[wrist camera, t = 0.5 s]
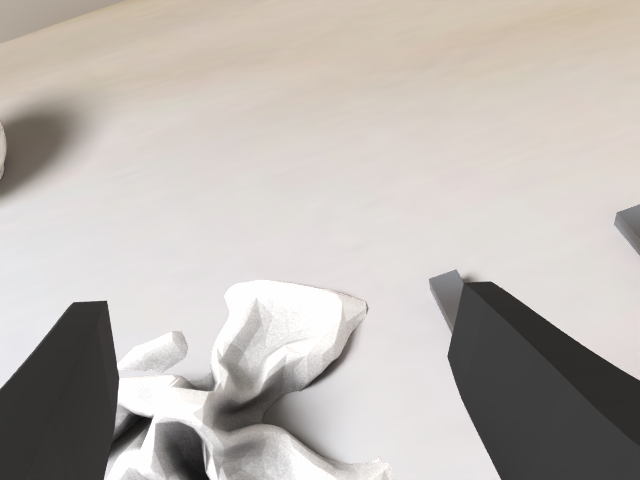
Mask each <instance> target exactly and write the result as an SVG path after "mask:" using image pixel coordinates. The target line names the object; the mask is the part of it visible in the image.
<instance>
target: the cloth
mask: <svg viewBox="0 0 640 480" xmlns="http://www.w3.org/2000/svg"><path fill="white" fill-rule="evenodd" d="M225 299H226V302H227V305H228V308H229V311H230V314H229V318H228V320H227V322H226V324H225V325H224V327H223V329H222V331H221V332H220V334H219V336H218V338H217V339H216V341H215V344H214V346H213V349H212V351H211V358H210V368H211V373H210V374H209V375H208V376H206V377H205V378H204V379H203V380H202V381H199V382H191V381H188V380H186V379H185V378H184V377H182V376H177V375H157V376H141V377H131V378H122V379H120V380H119V390H118V401H117V412H116V421H115V429H114V434H113V439H112V442H113V441H114V440H115V439H117V438H118V437H119V436H121V435H122V434H123V433H124V432H125V431H126V430H127V429H129V428H130V427H131V426H132V425H133V424H135V423H136V422H138V421H139V420H141V419H142V418H143V417H148V418H151V419H153V420H152V423H151V424H149V425H148V426H147V427H146V428H145V429H144V430H143V431H142V432H141V433H140V435H139V436H138V437H137V438H136V439H135V440H134V441H133V442H132V443H131V444H130V445H129V446H128V447H127V448H126V449H125V450H124V451H123V452H122V453H121V454H120V455H119V457H118V458H117V460H116V462H115V464H114V466H113V468H112V470H111V472H110V474H109V476H108V478H107V480H393V475H392V469H391V466H390V464H387V463H385V462H383V461H382V460H381V458H380V456H379V458H378V459H376V460H374V461H372V462H367V463H355V464H345V463H339V462H336V461H333V460H330V459H328V458H325V457H322V456H320V455H318V454H317V453H315V452H314V451H312V450H311V449H309V448H308V447H306V446H305V445H304V444H302V443H301V442H300V441H298V440H297V439H296V438H295V437H294V436H292V435H291V434H290V433H289V432H287V431H286V430H285V429H284V428H281V427H278V426H275V425H268V424H265V423H264V422H263V421H262V420H263V417H264V413H265V411H266V410H267V409H268V408H269V407H270V406H271V405H272V404H273V403H274V402H275V401H276V400H277V399H278V398H279V397H280V396H281V395H284V394H287V393H290V392H294V391H301V390H303V389H305V388H306V387H308V386H309V385H310V384H311V382H312V381H313V380H314V379H315V378H316V377H318V376H319V375H320V374H321V373H322V372H323V371H324V370H325V369H326V367H327V366H328V365H329V364H330V363H331V362H332V361H334V360H335V359H337V358H338V357H339V356H340V354H341V352H342V350H343V348H344V346H345V344H346V342H347V340H348V338H349V336H350V334H351V333H352V331H354V330H355V328H356V327H357V326H358V324H359V323H360V322H361V321H362V320H363V319H364V318H365V316H366V314H367V306H366V302H365V301H362V300H360V299H357V298H354V297H351V296H348V295H345V294H342V293H340V292H337V291H334V290H328V289H320V288H313V287H308V286H302V285H297V284H292V283H286V282H278V281H269V280H256V281H250V282H245V283H240V284H236V285H234V286H232V287H231V288H229V289H228V291H227V293H226V294H225ZM187 350H188V345H187V343H186V341H185V338H184V336H183V333H182V331H177V332H170V333H168V334H165V335H163V336H161V337H159V338H157V339H155V340H152V341H150V342H148V343H146V344H143V345H140V346H136V347H134V348H133V349H132V350H131V351H130V352H129V353H128V354H127V355H126V356H125V357H124V358H123V359H122V360H121V361H120V362H119V363H118V364H117V368H118V370H142V371H145V370H150V369H152V370H155V371H158V372H161V373H162V372H164V371H165V370H167V369H169V368H170V367H172V366H173V365H175V364H177V363H178V362H180V361H181V360H183V359H184V358H185V357H186V354H187Z"/></svg>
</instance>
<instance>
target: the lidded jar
mask: <svg viewBox="0 0 640 480" xmlns="http://www.w3.org/2000/svg"><path fill="white" fill-rule="evenodd" d="M6 148H7V147H6V137H5V133H4V129H3V126H2V124H1V122H0V180H1V178H2V176H3V174H4V169H5V166H4V161H5V157H6Z"/></svg>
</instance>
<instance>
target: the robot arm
mask: <svg viewBox="0 0 640 480" xmlns="http://www.w3.org/2000/svg"><path fill="white" fill-rule="evenodd" d="M447 357H448V360H449V363H450V366H451V369H452V372H453V376H454V379H455V382H456V385H457V387H458V390H459V393H460V396H461V399H462V401H463V403H464V405H465V407H466V409H467V411H468V413H469V416H470V418H471V420H472V422H473V424H474V426H475V428H476V430H477V432H478V434H479V436H480V438H481V440H482V442H483V444H484V446H485V448H486V450H487V452H488V454H489V456H490V458H491V460H492V462H493V464H494V466H495V468H496V470H497V472H498V474H499V476H500V478H501V480H640V381H639V380H638V379H636V378H634V377H633V376H631V375H629V374H627V373H626V372H624V371H622V370H621V369H619V368H617V367H616V366H614V365H613V364H611V363H610V362H608V361H606V360H605V359H603V358H602V357H600V356H598V355H597V354H595V353H594V352H592V351H591V350H589V349H588V348H586V347H585V346H583V345H582V344H580V343H579V342H577V341H576V340H574V339H573V338H571V337H570V336H568V335H567V334H565V333H564V332H563V331H561V330H560V329H558V328H557V327H555V326H554V325H553V324H551V323H550V322H548V321H547V320H546V319H544V318H543V317H541V316H540V315H539V314H537V313H536V312H534V311H533V310H532V309H530V308H529V307H528V306H526V305H525V304H523V303H522V302H521V301H519V300H518V299H516V298H515V297H514V296H512V295H511V294H509V293H508V292H506V291H505V290H503V289H502V288H500V287H499V286H497V285H496V284H494V283H493V282H472V283H464V284H463V289H462V293H461V298H460V302H459V307H458V311H457V316H456V320H455V325H454V329H453V334H452V338H451V343H450V347H449V352H448V356H447ZM118 390H119V374H118V368H117V361H116V355H115V349H114V342H113V336H112V330H111V323H110V317H109V311H108V304H107V301H93V302H73V303H72V304H71V305H70V306H69V307H68V308H67V310H66V311H65V312H64V314H63V315H62V316H61V317H60V319H59V320H58V321H57V322H56V324H55V325H54V326H53V328H52V329H51V330H50V331H49V333H48V334H47V335H46V336H45V338H44V339H43V340H42V341H41V343H40V344H39V345H38V346H37V347H36V349H35V350H34V351H33V352H32V353H31V355H30V356H29V357H28V358H27V359H26V360H25V362H24V363H23V364H22V365H21V366H20V367H19V369H18V370H17V371H16V372H15V373H14V374H13V375H12V377H11V378H10V379H9V380H8V381H7V382H6V383H5V384H4V386H3V387H2V388H1V389H0V480H104V475H105V471H106V466H107V462H108V457H109V453H110V448H111V443H112V439H113V434H114V429H115V421H116V412H117V401H118Z"/></svg>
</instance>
